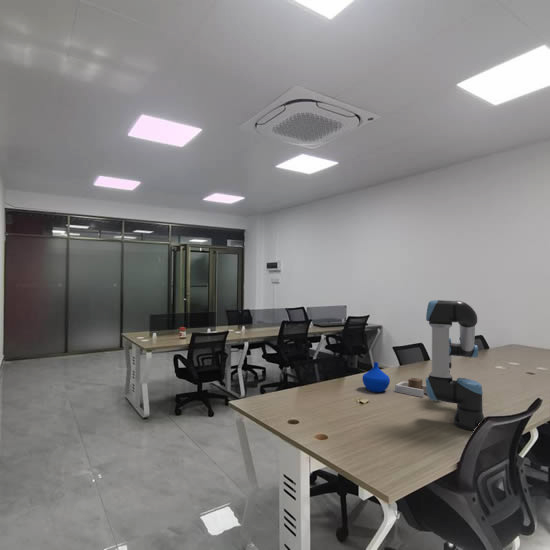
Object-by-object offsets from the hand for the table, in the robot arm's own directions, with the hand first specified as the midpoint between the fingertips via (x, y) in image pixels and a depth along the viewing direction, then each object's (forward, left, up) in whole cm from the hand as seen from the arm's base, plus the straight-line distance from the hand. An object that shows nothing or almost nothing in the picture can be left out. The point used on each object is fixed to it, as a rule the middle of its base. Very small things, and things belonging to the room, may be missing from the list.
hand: (445, 397), depth 230 cm
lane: (+20, 0, -1) cm, 20 cm away
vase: (+42, +13, -1) cm, 44 cm away
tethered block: (+10, 0, 0) cm, 10 cm away
